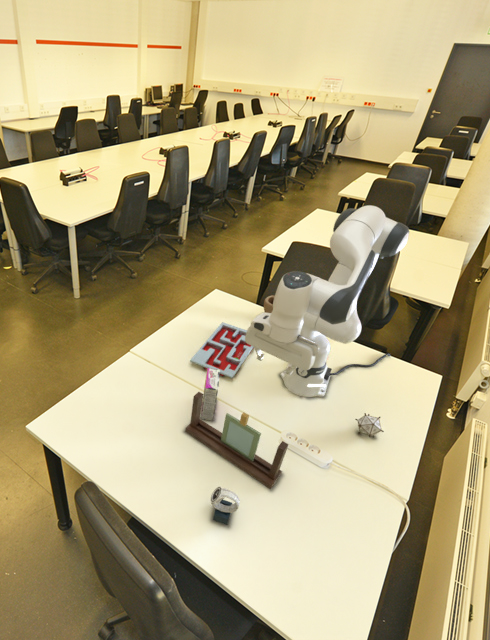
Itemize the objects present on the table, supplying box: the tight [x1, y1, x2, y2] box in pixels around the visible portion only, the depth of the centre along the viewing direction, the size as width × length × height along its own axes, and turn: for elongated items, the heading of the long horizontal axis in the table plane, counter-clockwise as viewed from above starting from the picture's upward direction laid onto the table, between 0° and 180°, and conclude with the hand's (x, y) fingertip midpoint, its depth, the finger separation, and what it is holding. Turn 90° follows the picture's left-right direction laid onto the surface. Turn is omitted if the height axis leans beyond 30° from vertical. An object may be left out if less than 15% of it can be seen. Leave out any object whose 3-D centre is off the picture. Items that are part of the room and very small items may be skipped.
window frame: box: [184, 391, 289, 490], centre depth 129 cm, size 7×34×17 cm, turn 48°
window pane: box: [221, 411, 262, 462], centre depth 127 cm, size 1×12×18 cm, turn 48°
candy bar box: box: [200, 368, 221, 422], centre depth 145 cm, size 11×5×16 cm, turn 168°
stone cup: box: [263, 294, 275, 313], centre depth 194 cm, size 15×12×15 cm
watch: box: [210, 486, 240, 526], centre depth 113 cm, size 6×8×11 cm
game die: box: [355, 412, 384, 438], centre depth 140 cm, size 9×8×10 cm
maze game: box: [189, 321, 255, 379], centre depth 178 cm, size 35×20×3 cm, turn 148°
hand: (273, 366), depth 116 cm, fingers open, 8 cm apart
